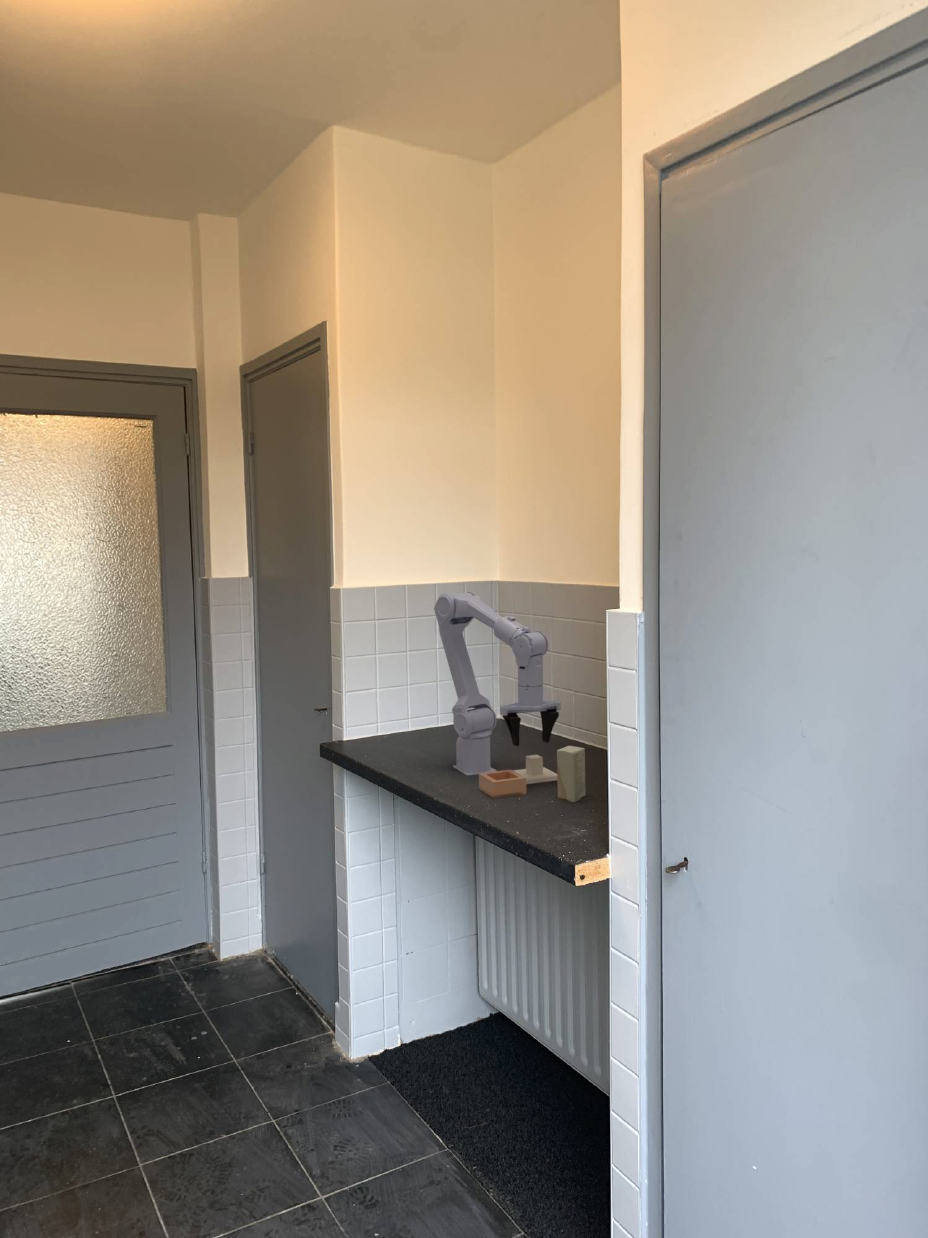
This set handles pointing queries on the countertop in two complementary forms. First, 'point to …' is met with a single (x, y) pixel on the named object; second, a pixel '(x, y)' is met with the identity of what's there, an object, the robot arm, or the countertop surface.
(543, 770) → the lid
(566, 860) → the countertop surface
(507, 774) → the dish
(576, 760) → the box
